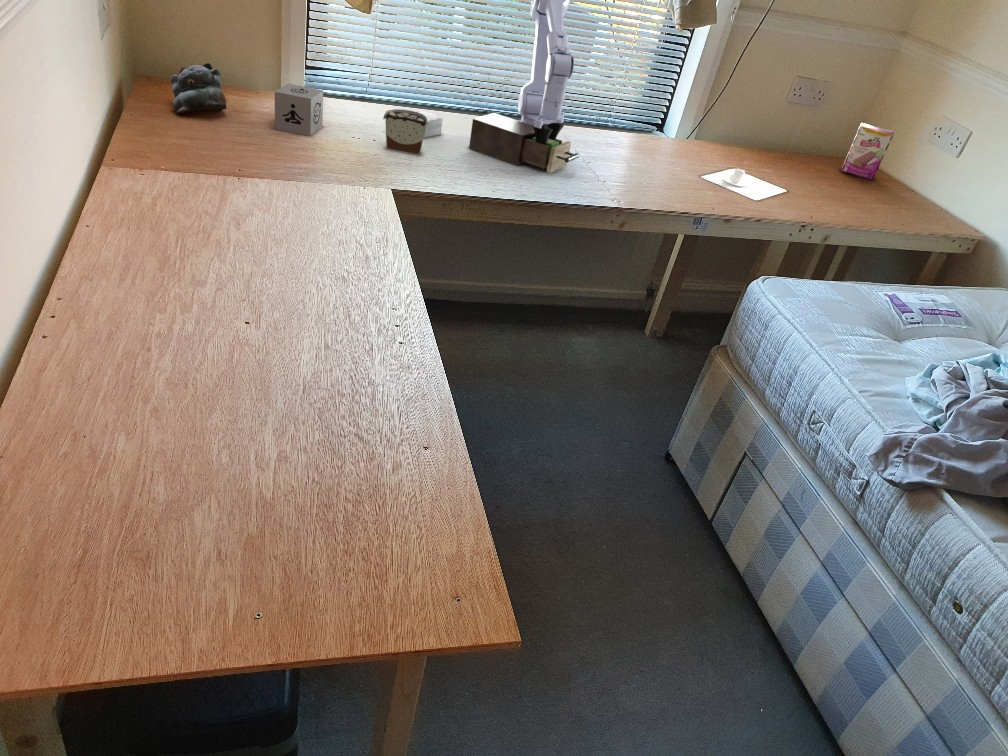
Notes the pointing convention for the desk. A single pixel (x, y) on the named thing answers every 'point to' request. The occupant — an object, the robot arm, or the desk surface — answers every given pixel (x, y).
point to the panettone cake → (405, 130)
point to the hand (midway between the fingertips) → (543, 149)
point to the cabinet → (499, 137)
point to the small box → (432, 124)
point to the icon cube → (298, 109)
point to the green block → (549, 144)
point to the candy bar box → (867, 151)
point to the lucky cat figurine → (198, 89)
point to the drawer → (546, 154)
